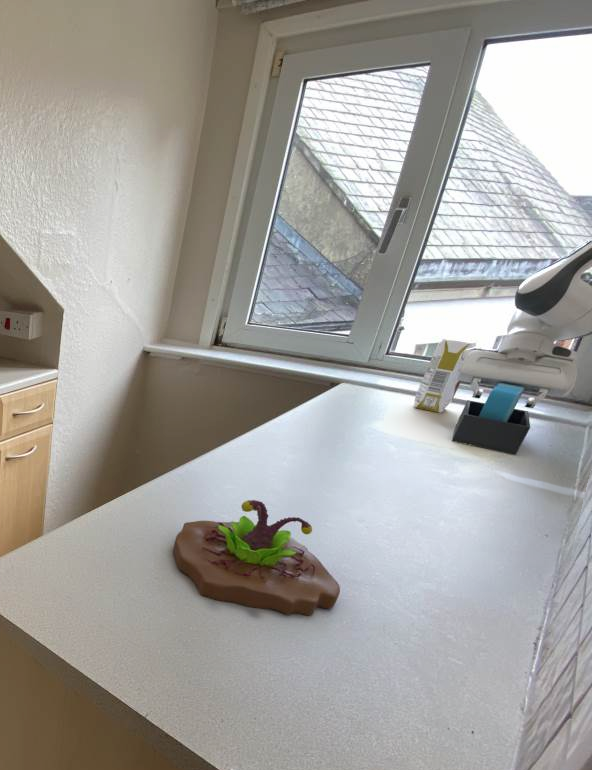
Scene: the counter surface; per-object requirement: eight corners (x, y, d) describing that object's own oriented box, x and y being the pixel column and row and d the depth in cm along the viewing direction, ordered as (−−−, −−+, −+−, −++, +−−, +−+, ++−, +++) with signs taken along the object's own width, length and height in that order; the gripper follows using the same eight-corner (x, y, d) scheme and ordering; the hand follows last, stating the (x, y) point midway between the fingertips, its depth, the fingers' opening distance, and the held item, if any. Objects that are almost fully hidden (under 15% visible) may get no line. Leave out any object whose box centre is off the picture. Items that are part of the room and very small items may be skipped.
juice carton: (409, 407, 152) (439, 338, 144) (415, 401, 158) (444, 334, 149) (443, 414, 147) (476, 343, 139) (449, 408, 153) (480, 340, 144)
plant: (158, 527, 88) (173, 463, 83) (284, 537, 86) (307, 474, 81) (195, 607, 70) (217, 533, 65) (354, 623, 68) (390, 548, 64)
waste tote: (514, 437, 133) (528, 411, 131) (515, 455, 123) (530, 427, 120) (455, 424, 140) (467, 400, 137) (451, 440, 129) (464, 414, 126)
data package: (477, 428, 136) (500, 381, 131) (501, 434, 133) (526, 386, 128) (467, 438, 129) (491, 389, 124) (492, 444, 126) (518, 394, 121)
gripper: (469, 338, 135) (449, 384, 132) (588, 353, 122) (568, 404, 120) (462, 353, 140) (442, 398, 137) (575, 370, 127) (556, 419, 125)
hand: (502, 401), depth 129 cm, fingers open, 8 cm apart
